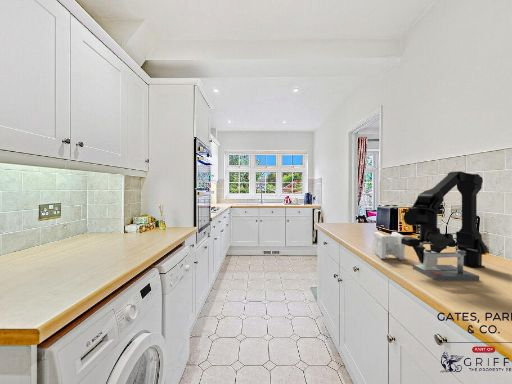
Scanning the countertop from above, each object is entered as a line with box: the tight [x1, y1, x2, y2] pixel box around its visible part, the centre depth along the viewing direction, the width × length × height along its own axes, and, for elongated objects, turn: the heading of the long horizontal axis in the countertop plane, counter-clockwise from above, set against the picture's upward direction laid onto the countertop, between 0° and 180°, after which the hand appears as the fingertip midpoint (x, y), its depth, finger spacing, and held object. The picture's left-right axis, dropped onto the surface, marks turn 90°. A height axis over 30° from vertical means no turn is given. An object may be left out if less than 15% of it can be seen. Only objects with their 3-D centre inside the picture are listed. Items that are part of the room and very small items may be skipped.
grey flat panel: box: [412, 264, 480, 281], centre depth 100 cm, size 16×14×2 cm
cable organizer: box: [373, 231, 406, 261], centre depth 124 cm, size 15×11×12 cm
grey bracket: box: [425, 249, 466, 274], centre depth 94 cm, size 3×16×9 cm, turn 99°
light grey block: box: [417, 248, 438, 267], centre depth 103 cm, size 4×4×6 cm
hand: (427, 263), depth 103 cm, fingers closed on light grey block, 4 cm apart
